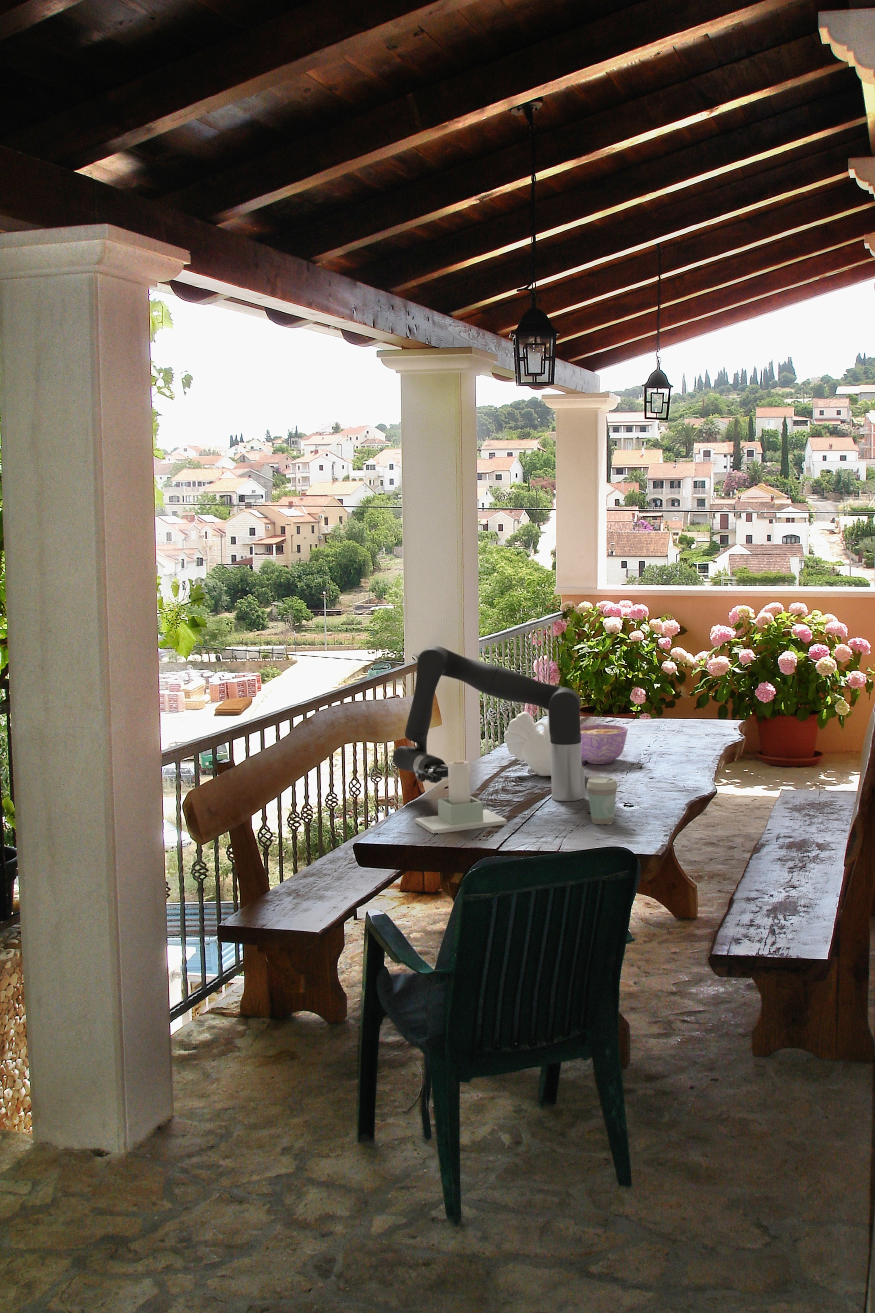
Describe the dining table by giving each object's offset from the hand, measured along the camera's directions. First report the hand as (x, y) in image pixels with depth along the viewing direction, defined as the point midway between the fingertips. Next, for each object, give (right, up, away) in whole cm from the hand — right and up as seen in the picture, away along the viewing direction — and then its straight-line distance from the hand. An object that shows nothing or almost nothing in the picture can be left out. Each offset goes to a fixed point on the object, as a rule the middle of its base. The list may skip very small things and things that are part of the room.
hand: (450, 777), depth 317 cm
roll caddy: (+3, -12, -5) cm, 13 cm away
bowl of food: (+53, -3, +74) cm, 91 cm away
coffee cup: (+42, -12, -9) cm, 44 cm away
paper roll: (+3, -11, -5) cm, 12 cm away
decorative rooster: (+32, -5, +57) cm, 65 cm away
